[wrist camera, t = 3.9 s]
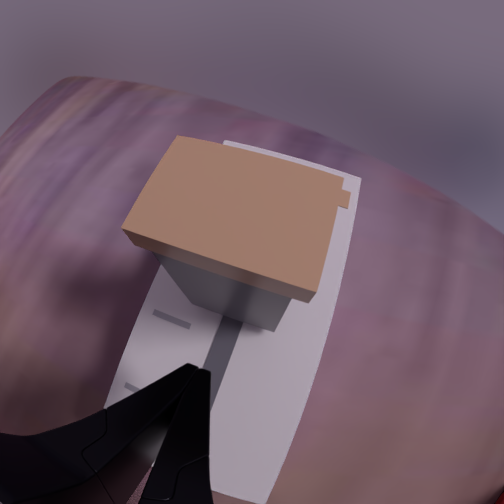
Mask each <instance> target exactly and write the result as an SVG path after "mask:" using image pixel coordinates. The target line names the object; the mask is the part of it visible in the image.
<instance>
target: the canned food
mask: <svg viewBox="0 0 504 504" xmlns="http://www.w3.org/2000/svg"><path fill="white" fill-rule="evenodd" d="M495 504H504V492H503V493H502V494H501V496H500V497H499V499H498V500H497V501H496V503H495Z"/></svg>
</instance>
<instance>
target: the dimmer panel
mask: <svg viewBox="0 0 504 504" xmlns="http://www.w3.org/2000/svg"><path fill="white" fill-rule="evenodd" d="M223 145H228V146H232V147H237V148H241V149H245V150H249V151H253V152H257V153H261V154H265V155H269V156H273V157H276V158H280V159H284V160H287V161H291V162H295V163H298V164H301V165H305V166H308V167H312V168H315V169H318V170H322V171H325V172H328V173H331V174H334V175H337V176H340V177H343V178H344V181H343V186H342V191H341V195H340V200H339V205H338V209H337V214H336V218H335V223H334V227H333V231H332V235H331V240H330V244H329V248H328V252H327V256H326V260H325V264H324V267H323V271H322V275H321V279H320V283H319V286H318V290H317V293H316V294H315V295H314V297H313V298H312V299H311V301H310V302H309V303H305V302H301V301H298V300H295V299H291V301H290V303H289V305H288V307H287V309H286V311H285V313H284V315H283V317H282V318H281V320H280V322H279V324H278V326H277V328H276V330H275V331H274V332H271V331H268V330H265V329H262V328H259V327H256V326H253V325H250V324H247V323H244V322H241V321H238V320H235V319H232V318H229V317H227V316H224V315H221V314H218V313H215V312H213V311H210V310H207V309H204V308H202V307H199V306H196V305H193V304H192V303H191V302H190V301H189V300H188V298H187V297H186V296H185V294H184V293H183V292H182V291H181V289H180V288H179V287H178V285H177V284H176V283H175V282H174V280H173V279H172V278H171V276H170V275H169V274H168V272H167V271H166V270H165V268H164V267H163V266H162V264H161V265H160V267H159V269H158V272H157V274H156V276H155V278H154V280H153V283H152V285H151V287H150V290H149V292H148V294H147V296H146V299H145V301H144V303H143V306H142V308H141V311H140V313H139V315H138V318H137V320H136V323H135V325H134V327H133V330H132V332H131V335H130V337H129V340H128V343H127V345H126V348H125V350H124V353H123V355H122V358H121V361H120V363H119V366H118V369H117V372H116V374H115V377H114V380H113V383H112V385H111V388H110V391H109V394H108V397H107V400H106V403H105V406H104V409H105V408H106V409H107V407H109V406H111V405H113V404H114V403H116V402H118V401H120V400H122V399H124V398H126V397H128V396H129V395H131V394H133V393H135V392H137V391H139V390H140V389H142V388H144V387H146V386H148V385H149V384H151V383H153V382H155V381H156V380H158V379H160V378H162V377H164V376H165V375H167V374H169V373H170V372H172V371H174V370H176V369H177V368H179V367H181V366H182V365H184V364H186V363H191V364H193V365H196V366H198V367H199V368H203V369H206V370H209V371H211V373H212V377H211V407H210V455H209V457H210V484H211V490H213V491H216V492H219V493H222V494H225V495H228V496H232V497H235V498H239V499H242V500H246V501H250V502H254V503H258V504H265V503H266V501H267V499H268V497H269V495H270V493H271V490H272V488H273V486H274V484H275V481H276V479H277V477H278V474H279V472H280V470H281V467H282V465H283V463H284V460H285V458H286V455H287V453H288V450H289V448H290V445H291V443H292V440H293V437H294V435H295V432H296V430H297V427H298V424H299V421H300V419H301V416H302V413H303V410H304V407H305V405H306V402H307V399H308V396H309V393H310V390H311V387H312V384H313V381H314V378H315V375H316V371H317V368H318V365H319V362H320V358H321V355H322V352H323V348H324V345H325V342H326V338H327V334H328V331H329V327H330V324H331V320H332V316H333V312H334V309H335V305H336V301H337V297H338V293H339V289H340V285H341V280H342V276H343V272H344V267H345V263H346V258H347V254H348V249H349V244H350V239H351V234H352V229H353V224H354V218H355V213H356V207H357V202H358V196H359V190H360V183H361V178H359V177H356V176H353V175H350V174H347V173H344V172H341V171H338V170H335V169H332V168H329V167H325V166H322V165H319V164H316V163H312V162H309V161H306V160H302V159H299V158H295V157H291V156H288V155H284V154H281V153H277V152H273V151H269V150H265V149H261V148H257V147H253V146H249V145H245V144H241V143H236V142H232V141H227V140H225V141H224V142H223ZM154 462H155V461H154ZM153 465H154V463H153V464H152V466H153Z"/></svg>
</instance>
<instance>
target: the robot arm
mask: <svg viewBox="0 0 504 504" xmlns="http://www.w3.org/2000/svg"><path fill="white" fill-rule="evenodd" d="M211 377H212V373H211V371H209V370H206V369H203V368H199V367H198V366H196V365H193V364H191V363H186V364H184V365H182V366H181V367H179V368H177V369H176V370H174V371H172V372H170V373H169V374H167V375H165V376H164V377H162V378H160V379H158V380H156V381H155V382H153V383H151V384H149V385H148V386H146V387H144V388H142V389H140V390H139V391H137V392H135V393H133V394H131V395H129V396H128V397H126V398H124V399H122V400H120V401H118V402H116V403H114V404H113V405H111V406H109V407H107V409H106V408H105V409H103V410H101V411H99V412H97V413H95V414H93V415H91V416H88V417H86V418H84V419H82V420H79V421H76V422H74V423H71V424H68V425H65V426H62V427H59V428H56V429H53V430H49V431H46V432H43V433H39V434H36V435H29V436H19V435H12V434H5V433H0V504H126V503H127V501H128V500H129V498H130V497H131V495H132V494H133V492H134V491H135V489H136V488H137V486H138V485H139V483H140V482H141V481H142V479H143V478H144V476H145V475H146V473H147V472H148V470H149V469H150V467H151V466H152V464H153V463H154V465H153V467H152V470H151V472H150V475H149V477H148V480H147V482H146V485H145V488H144V490H143V493H142V495H141V499H140V500H139V503H138V504H214V503H213V498H212V491H211V484H210V457H209V455H210V407H211ZM154 461H155V462H154Z"/></svg>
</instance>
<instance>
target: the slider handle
mask: <svg viewBox="0 0 504 504" xmlns="http://www.w3.org/2000/svg"><path fill="white" fill-rule="evenodd" d="M343 181H344V178H343V177H340V176H337V175H334V174H331V173H328V172H325V171H322V170H318V169H315V168H312V167H308V166H305V165H301V164H298V163H295V162H291V161H287V160H284V159H280V158H276V157H273V156H269V155H265V154H261V153H257V152H253V151H249V150H245V149H241V148H237V147H232V146H228V145H223V144H219V143H214V142H209V141H205V140H200V139H195V138H189V137H184V136H179V135H177V137H176V138H175V140H174V141H173V143H172V144H171V146H170V147H169V149H168V150H167V152H166V153H165V155H164V156H163V158H162V159H161V161H160V162H159V164H158V166H157V167H156V169H155V170H154V172H153V173H152V175H151V177H150V178H149V180H148V182H147V183H146V185H145V187H144V188H143V190H142V192H141V193H140V195H139V197H138V198H137V200H136V202H135V204H134V205H133V207H132V209H131V211H130V212H129V214H128V216H127V218H126V220H125V221H124V223H123V225H122V227H121V229H122V230H123V231H124V232H125V234H126V235H127V236H128V237H129V239H130V240H131V241H132V243H133V244H134V245H136V246H139V247H141V248H144V249H147V250H150V251H152V252H153V254H154V255H155V256H156V258H157V259H158V260H159V262H160V263H161V264H162V266H163V267H164V268H165V270H166V271H167V272H168V274H169V275H170V276H171V278H172V279H173V280H174V282H175V283H176V284H177V285H178V287H179V288H180V289H181V291H182V292H183V293H184V294H185V296H186V297H187V298H188V300H189V301H190V302H191V303H192V304H193V305H196V306H199V307H202V308H204V309H207V310H210V311H213V312H215V313H218V314H221V315H224V316H227V317H229V318H232V319H235V320H238V321H241V322H244V323H247V324H250V325H253V326H256V327H259V328H262V329H265V330H268V331H271V332H274V331H275V330H276V328H277V326H278V324H279V322H280V320H281V318H282V317H283V315H284V313H285V311H286V309H287V307H288V305H289V303H290V301H291V299H295V300H298V301H301V302H305V303H309V302H310V301H311V299H312V298H313V297H314V295H315V294H316V293H317V290H318V286H319V283H320V279H321V275H322V271H323V267H324V264H325V260H326V256H327V252H328V248H329V244H330V240H331V235H332V231H333V227H334V223H335V218H336V214H337V209H338V205H339V200H340V195H341V191H342V186H343Z"/></svg>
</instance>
